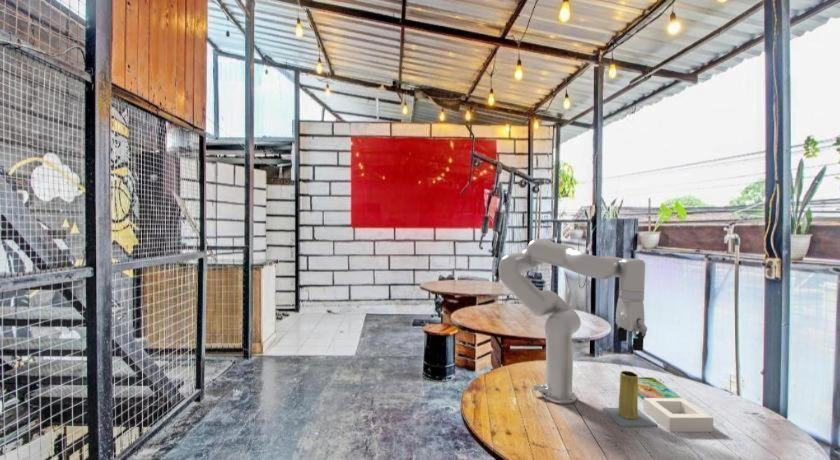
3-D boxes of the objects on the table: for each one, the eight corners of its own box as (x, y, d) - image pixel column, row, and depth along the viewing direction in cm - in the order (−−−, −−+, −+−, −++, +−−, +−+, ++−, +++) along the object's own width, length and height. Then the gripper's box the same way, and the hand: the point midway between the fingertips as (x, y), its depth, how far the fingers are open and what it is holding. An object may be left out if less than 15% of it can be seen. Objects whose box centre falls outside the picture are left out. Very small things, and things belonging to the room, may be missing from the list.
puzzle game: (649, 395, 141) (624, 374, 161) (649, 409, 141) (623, 385, 161) (683, 397, 141) (653, 375, 161) (683, 410, 141) (653, 386, 161)
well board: (669, 431, 125) (670, 417, 125) (643, 410, 139) (643, 397, 139) (712, 431, 126) (713, 417, 126) (682, 410, 140) (682, 398, 140)
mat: (621, 426, 128) (621, 425, 128) (602, 409, 140) (602, 407, 140) (657, 426, 128) (657, 425, 128) (636, 409, 140) (636, 407, 140)
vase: (636, 412, 136) (637, 371, 136) (639, 421, 130) (641, 378, 130) (616, 409, 138) (617, 369, 138) (619, 417, 132) (620, 375, 132)
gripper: (607, 290, 142) (606, 337, 143) (634, 300, 125) (632, 354, 125) (628, 290, 142) (626, 338, 143) (658, 300, 125) (656, 354, 126)
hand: (629, 345), depth 134 cm, fingers open, 9 cm apart
